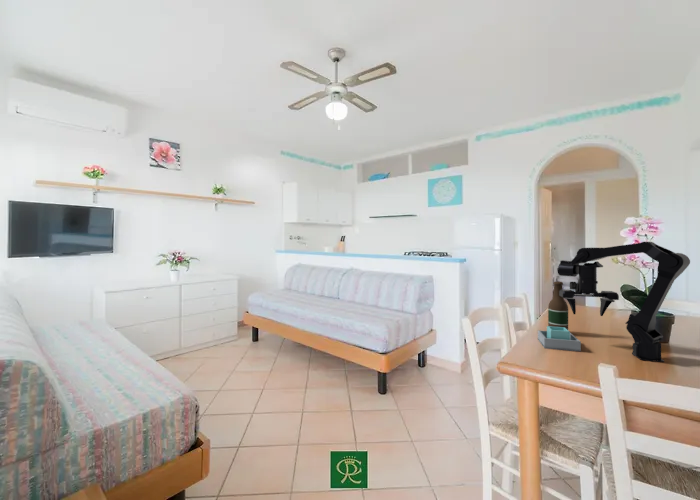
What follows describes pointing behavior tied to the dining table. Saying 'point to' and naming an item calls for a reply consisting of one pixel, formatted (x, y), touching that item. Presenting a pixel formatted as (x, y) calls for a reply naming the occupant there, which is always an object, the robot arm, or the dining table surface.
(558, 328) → the small crate
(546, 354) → the dining table surface
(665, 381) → the dining table surface
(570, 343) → the big crate
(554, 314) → the beer bottle
